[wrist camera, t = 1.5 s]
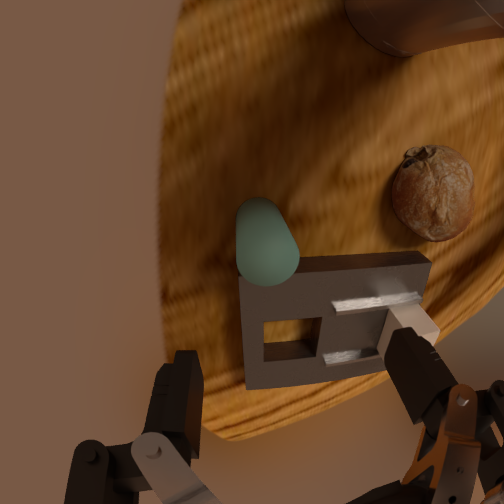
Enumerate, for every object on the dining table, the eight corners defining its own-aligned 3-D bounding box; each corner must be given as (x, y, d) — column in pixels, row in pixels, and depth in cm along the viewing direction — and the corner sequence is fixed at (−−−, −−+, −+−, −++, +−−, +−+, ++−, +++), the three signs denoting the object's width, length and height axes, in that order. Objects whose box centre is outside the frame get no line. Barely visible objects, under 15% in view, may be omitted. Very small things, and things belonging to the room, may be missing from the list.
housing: (237, 260, 26) (238, 281, 23) (417, 250, 27) (436, 266, 24) (245, 372, 33) (246, 395, 30) (386, 353, 34) (397, 371, 30)
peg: (234, 198, 24) (234, 230, 16) (280, 196, 24) (300, 227, 17) (236, 241, 25) (237, 287, 18) (280, 238, 26) (297, 284, 18)
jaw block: (389, 307, 26) (413, 342, 21) (417, 303, 26) (443, 334, 21) (376, 348, 29) (394, 382, 24) (403, 342, 29) (423, 374, 24)
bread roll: (415, 133, 25) (437, 113, 17) (476, 193, 24) (510, 191, 16) (369, 198, 28) (380, 195, 21) (432, 256, 27) (458, 273, 19)
